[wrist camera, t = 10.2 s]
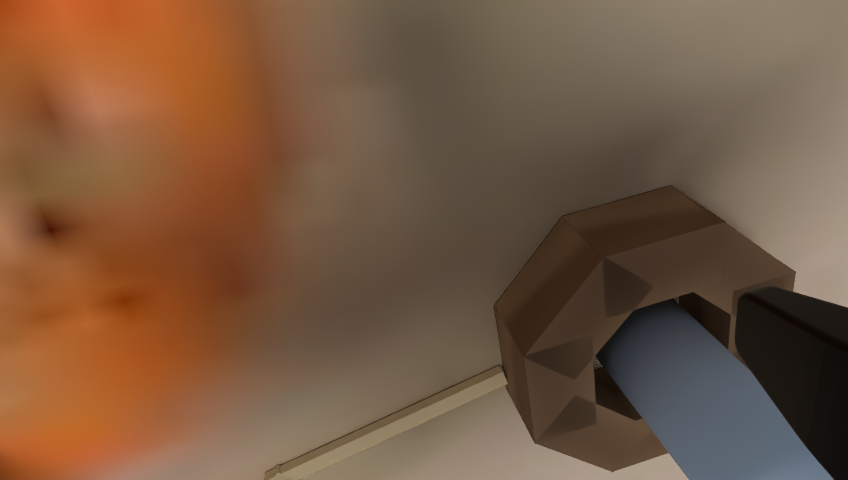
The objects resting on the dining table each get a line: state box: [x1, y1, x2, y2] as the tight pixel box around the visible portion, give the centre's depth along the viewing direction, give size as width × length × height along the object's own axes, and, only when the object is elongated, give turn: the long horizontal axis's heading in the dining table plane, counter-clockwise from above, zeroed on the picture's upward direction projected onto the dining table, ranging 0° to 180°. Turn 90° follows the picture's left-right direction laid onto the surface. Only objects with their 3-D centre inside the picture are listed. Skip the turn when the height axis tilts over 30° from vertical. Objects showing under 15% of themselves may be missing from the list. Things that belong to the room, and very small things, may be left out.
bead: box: [494, 186, 796, 472], centre depth 23 cm, size 10×10×3 cm
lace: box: [265, 365, 508, 480], centre depth 24 cm, size 15×3×1 cm, turn 122°
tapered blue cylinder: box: [595, 298, 834, 480], centre depth 21 cm, size 4×4×9 cm
